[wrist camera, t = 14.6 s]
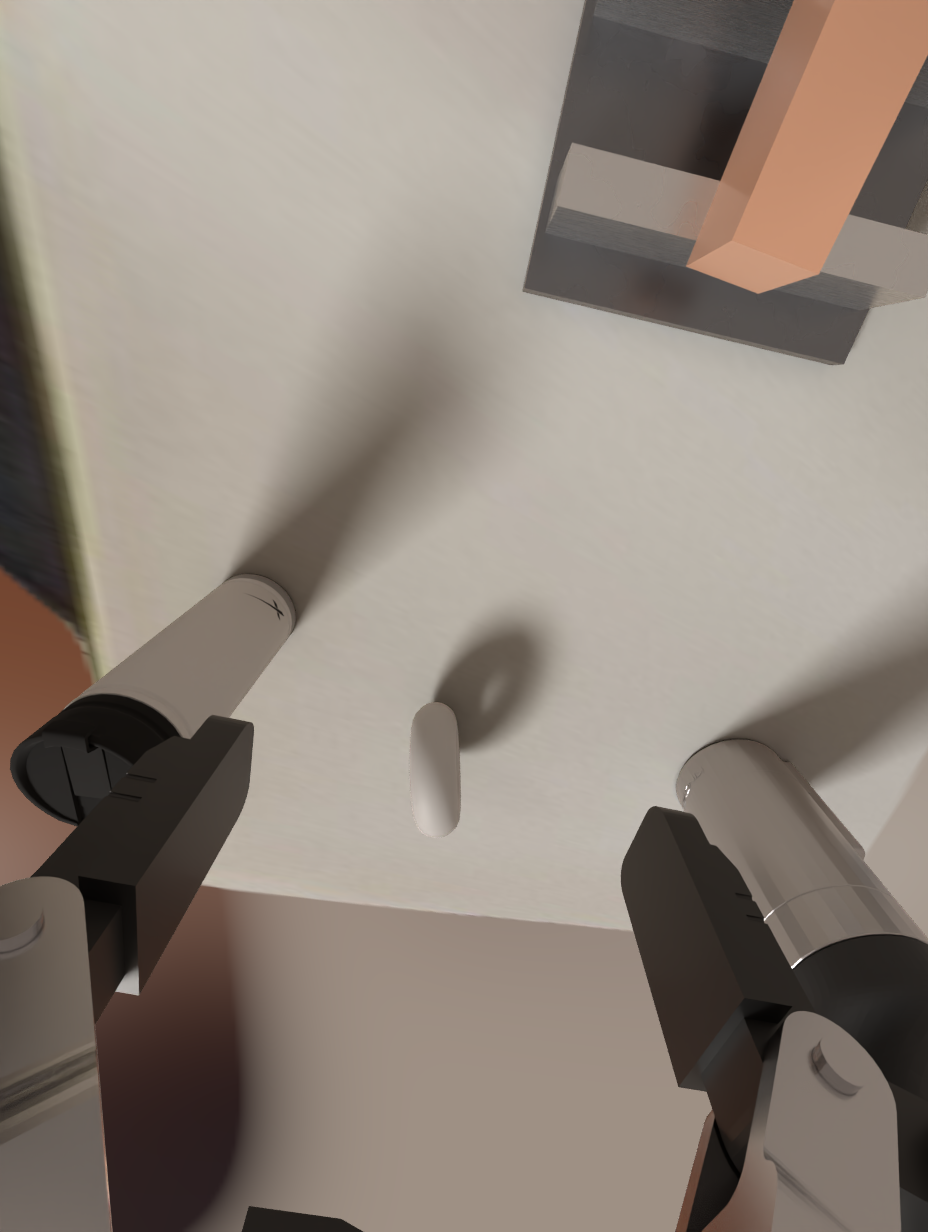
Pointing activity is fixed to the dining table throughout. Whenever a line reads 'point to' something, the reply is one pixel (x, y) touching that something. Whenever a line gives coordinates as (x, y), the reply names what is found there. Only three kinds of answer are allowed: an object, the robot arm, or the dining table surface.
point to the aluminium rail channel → (705, 183)
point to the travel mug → (155, 696)
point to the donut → (435, 770)
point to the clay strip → (811, 138)
